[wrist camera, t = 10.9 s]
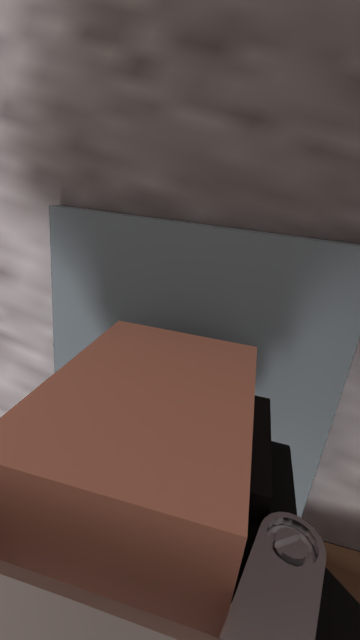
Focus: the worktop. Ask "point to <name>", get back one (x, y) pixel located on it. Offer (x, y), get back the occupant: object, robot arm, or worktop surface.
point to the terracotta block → (135, 472)
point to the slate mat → (219, 306)
